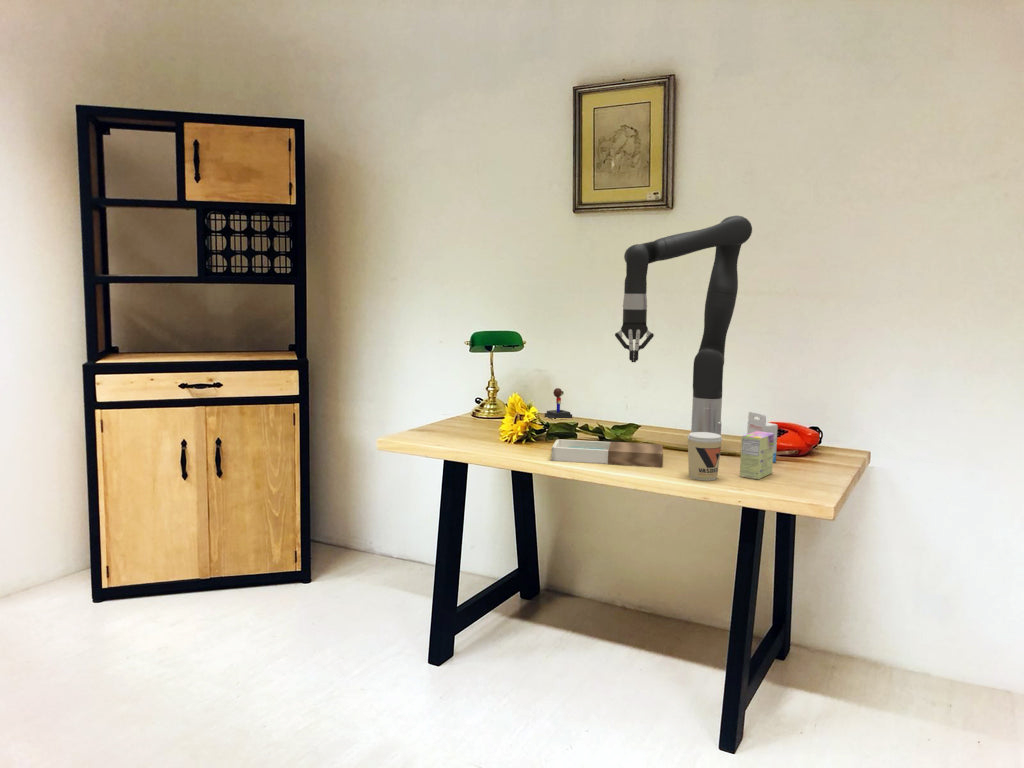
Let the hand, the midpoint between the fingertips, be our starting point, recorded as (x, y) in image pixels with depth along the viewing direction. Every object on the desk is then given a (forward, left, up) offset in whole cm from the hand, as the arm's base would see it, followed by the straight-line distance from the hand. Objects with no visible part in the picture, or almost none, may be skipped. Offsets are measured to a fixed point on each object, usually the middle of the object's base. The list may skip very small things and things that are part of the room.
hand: (633, 362), depth 245 cm
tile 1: (+16, +16, -26) cm, 35 cm away
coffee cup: (-21, +33, -29) cm, 48 cm away
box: (-36, +27, -29) cm, 53 cm away
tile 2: (+10, +16, -28) cm, 34 cm away
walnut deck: (-2, +17, -28) cm, 33 cm away
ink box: (-40, +7, -29) cm, 50 cm away
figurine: (+30, -52, -29) cm, 67 cm away
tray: (+14, +17, -28) cm, 36 cm away
